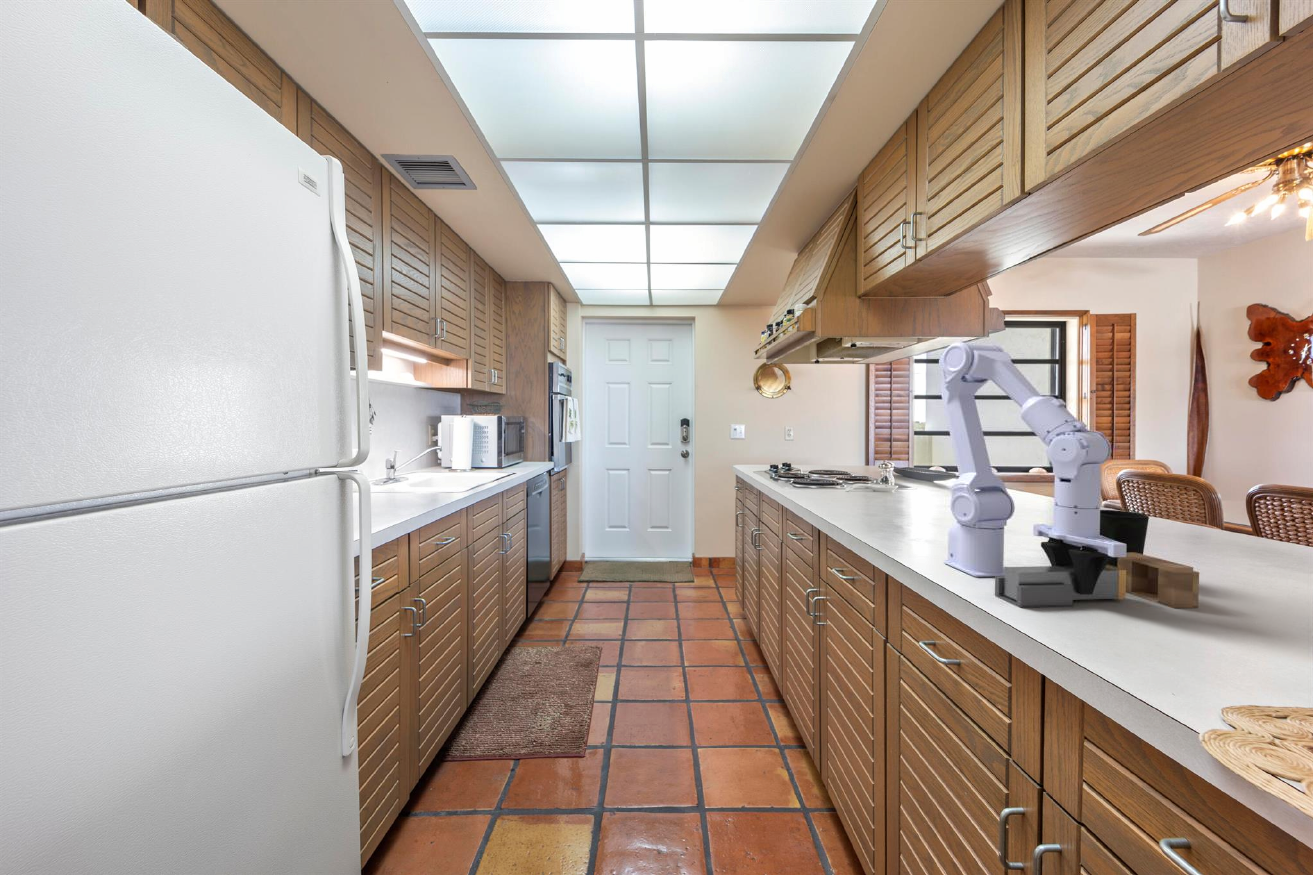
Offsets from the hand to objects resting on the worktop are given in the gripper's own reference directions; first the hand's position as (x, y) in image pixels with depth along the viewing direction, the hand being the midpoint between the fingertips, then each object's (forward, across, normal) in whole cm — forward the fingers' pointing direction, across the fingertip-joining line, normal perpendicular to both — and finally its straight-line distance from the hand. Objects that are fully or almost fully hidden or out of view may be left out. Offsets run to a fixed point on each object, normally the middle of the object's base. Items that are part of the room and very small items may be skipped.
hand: (1074, 589), depth 81 cm
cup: (+2, -10, +18) cm, 21 cm away
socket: (+2, 0, +14) cm, 14 cm away
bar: (+2, 0, -2) cm, 2 cm away
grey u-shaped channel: (+2, 0, -7) cm, 7 cm away
